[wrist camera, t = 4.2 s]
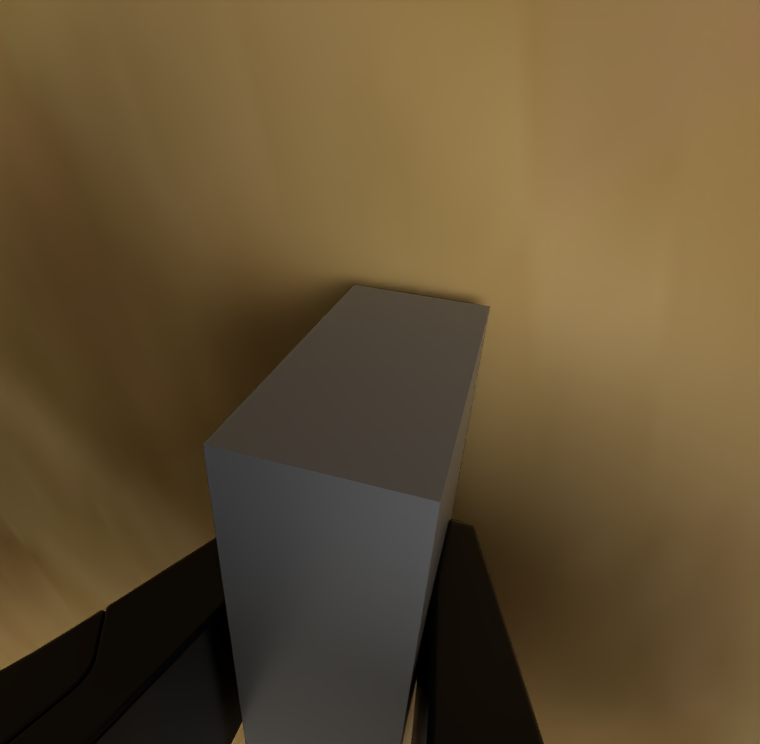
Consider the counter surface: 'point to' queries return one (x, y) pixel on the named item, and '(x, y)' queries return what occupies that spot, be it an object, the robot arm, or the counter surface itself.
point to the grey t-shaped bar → (343, 515)
